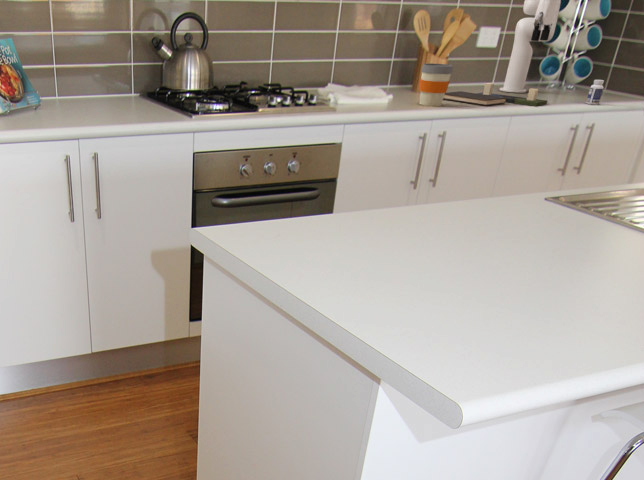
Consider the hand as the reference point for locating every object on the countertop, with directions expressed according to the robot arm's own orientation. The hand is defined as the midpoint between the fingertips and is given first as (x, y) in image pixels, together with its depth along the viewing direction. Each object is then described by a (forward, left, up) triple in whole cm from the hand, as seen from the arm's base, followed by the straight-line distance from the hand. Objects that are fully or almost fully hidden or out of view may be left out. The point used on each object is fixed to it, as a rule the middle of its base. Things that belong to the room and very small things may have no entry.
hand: (539, 40), depth 314 cm
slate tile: (+4, -15, -24) cm, 29 cm away
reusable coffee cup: (+49, -20, -24) cm, 58 cm away
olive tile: (+4, +4, -24) cm, 25 cm away
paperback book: (+22, -14, -24) cm, 36 cm away
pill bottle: (-24, +22, -24) cm, 41 cm away
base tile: (+4, -5, -24) cm, 25 cm away
